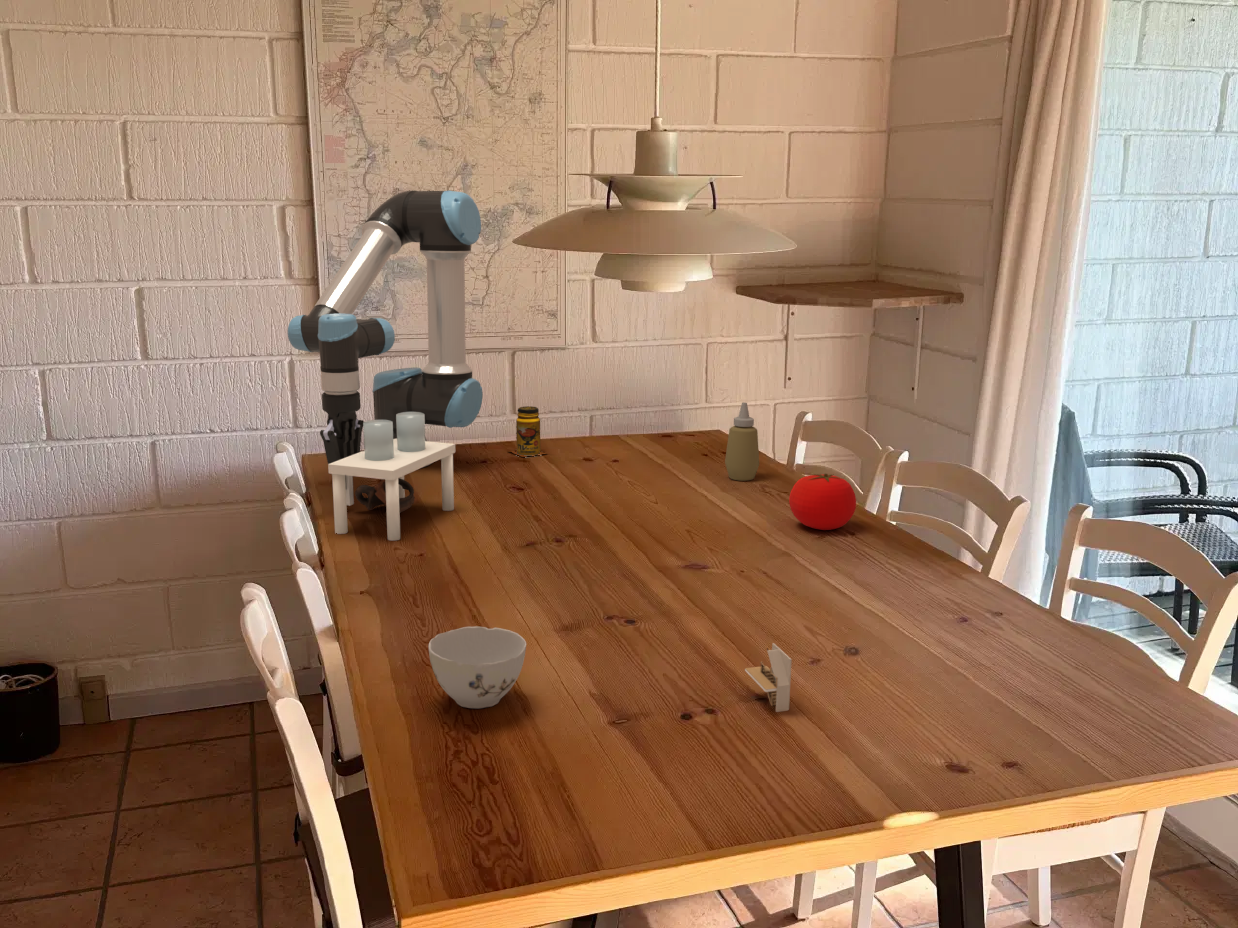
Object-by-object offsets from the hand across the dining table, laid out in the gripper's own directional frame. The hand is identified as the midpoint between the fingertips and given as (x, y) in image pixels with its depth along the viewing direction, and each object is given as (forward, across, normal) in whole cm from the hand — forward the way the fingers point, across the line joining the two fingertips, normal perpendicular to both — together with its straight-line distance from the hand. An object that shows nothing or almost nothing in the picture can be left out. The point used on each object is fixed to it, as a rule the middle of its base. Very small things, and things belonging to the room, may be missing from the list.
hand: (346, 503), depth 230 cm
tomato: (+2, -24, +94) cm, 97 cm away
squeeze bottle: (+2, -57, +71) cm, 91 cm away
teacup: (+2, +70, +63) cm, 94 cm away
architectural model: (+2, +58, +100) cm, 116 cm away
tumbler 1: (-12, +6, +12) cm, 18 cm away
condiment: (+2, -63, +14) cm, 64 cm away
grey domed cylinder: (-12, -3, +14) cm, 19 cm away
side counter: (+2, +2, +13) cm, 13 cm away
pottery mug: (+2, -2, +8) cm, 8 cm away
